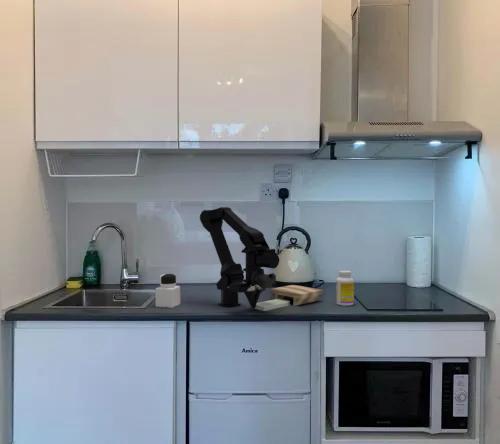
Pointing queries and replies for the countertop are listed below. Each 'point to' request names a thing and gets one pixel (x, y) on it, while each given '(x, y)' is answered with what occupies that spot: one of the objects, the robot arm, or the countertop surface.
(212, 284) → the countertop surface
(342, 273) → the supplement bottle
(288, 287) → the overhang
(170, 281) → the medicine bottle
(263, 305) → the sage plate
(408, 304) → the countertop surface
